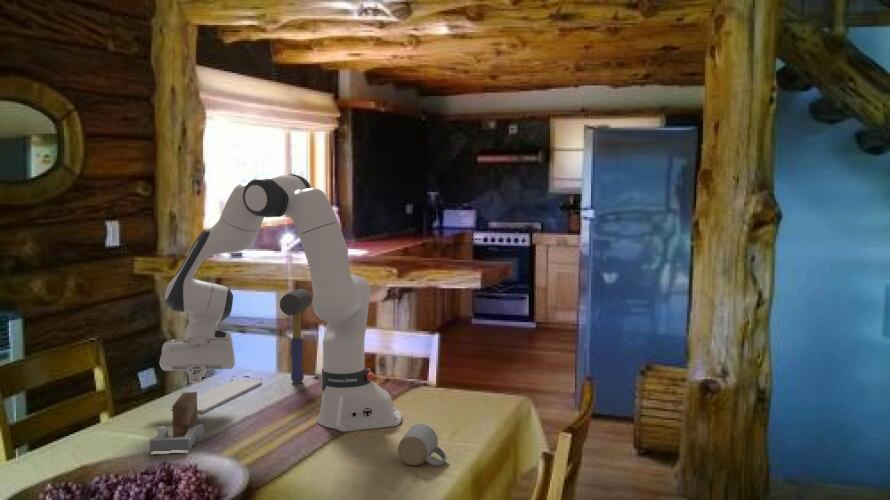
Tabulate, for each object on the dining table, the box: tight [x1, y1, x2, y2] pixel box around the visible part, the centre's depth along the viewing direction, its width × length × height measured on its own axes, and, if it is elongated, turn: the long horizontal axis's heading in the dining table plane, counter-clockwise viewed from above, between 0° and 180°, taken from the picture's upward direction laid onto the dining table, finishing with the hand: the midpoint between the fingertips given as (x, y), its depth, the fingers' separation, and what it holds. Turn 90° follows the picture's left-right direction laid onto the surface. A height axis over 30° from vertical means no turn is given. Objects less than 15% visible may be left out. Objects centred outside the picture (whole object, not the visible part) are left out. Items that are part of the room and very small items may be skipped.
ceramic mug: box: [397, 423, 448, 467], centre depth 167 cm, size 11×8×8 cm
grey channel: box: [149, 423, 205, 453], centre depth 178 cm, size 11×14×4 cm
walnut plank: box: [171, 391, 199, 438], centre depth 189 cm, size 4×12×8 cm, turn 8°
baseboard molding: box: [170, 375, 263, 414], centre depth 218 cm, size 31×3×12 cm
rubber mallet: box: [279, 288, 313, 384], centre depth 232 cm, size 12×8×30 cm, turn 172°
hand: (194, 381), depth 201 cm, fingers closed
